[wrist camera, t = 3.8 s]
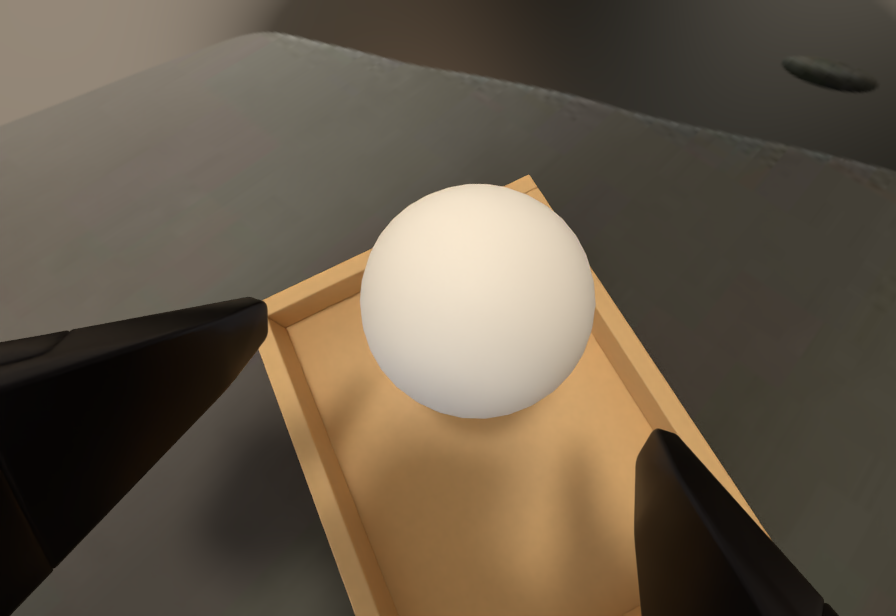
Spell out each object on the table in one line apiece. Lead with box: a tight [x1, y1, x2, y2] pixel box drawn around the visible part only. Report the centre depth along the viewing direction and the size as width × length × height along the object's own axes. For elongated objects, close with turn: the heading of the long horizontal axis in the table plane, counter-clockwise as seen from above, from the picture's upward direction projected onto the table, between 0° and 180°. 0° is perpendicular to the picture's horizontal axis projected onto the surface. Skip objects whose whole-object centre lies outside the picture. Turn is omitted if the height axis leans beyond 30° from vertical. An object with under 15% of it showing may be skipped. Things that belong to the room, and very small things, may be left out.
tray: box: [259, 175, 770, 616], centre depth 17 cm, size 18×14×2 cm
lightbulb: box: [360, 184, 596, 419], centre depth 14 cm, size 6×6×11 cm
